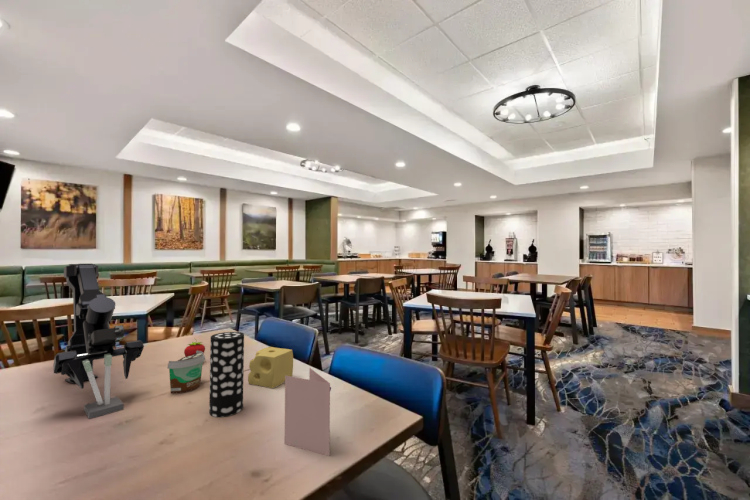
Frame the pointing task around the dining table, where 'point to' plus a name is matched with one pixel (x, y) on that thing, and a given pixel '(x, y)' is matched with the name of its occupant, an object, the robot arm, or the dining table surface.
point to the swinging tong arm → (92, 381)
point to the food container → (186, 373)
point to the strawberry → (194, 348)
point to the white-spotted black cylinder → (226, 374)
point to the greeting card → (307, 413)
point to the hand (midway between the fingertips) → (105, 382)
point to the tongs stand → (108, 403)
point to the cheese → (270, 367)
